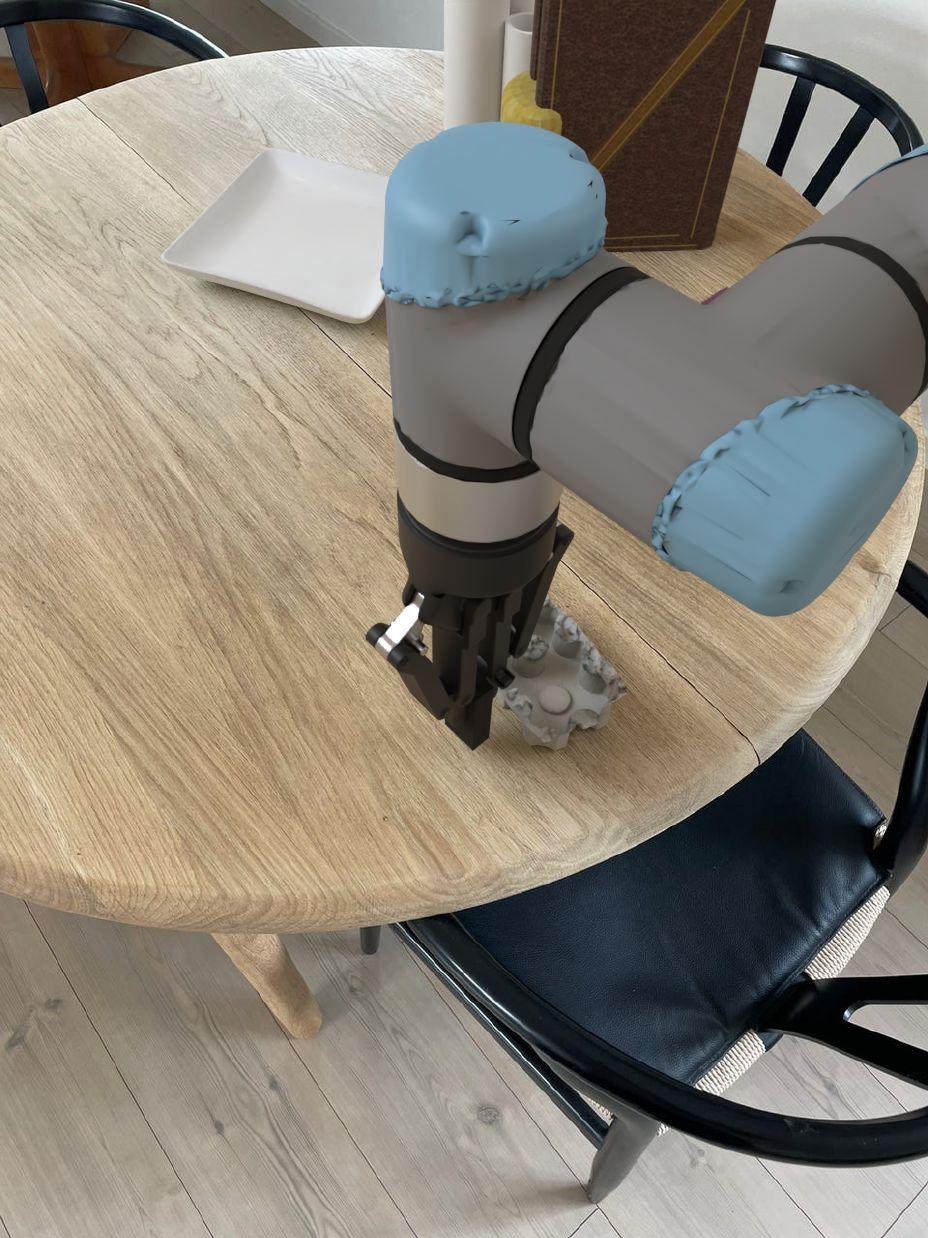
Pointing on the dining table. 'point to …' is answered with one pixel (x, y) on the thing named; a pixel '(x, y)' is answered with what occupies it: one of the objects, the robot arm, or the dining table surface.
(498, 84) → the vase
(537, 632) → the egg carton
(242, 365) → the dining table surface
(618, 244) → the book
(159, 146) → the dining table surface
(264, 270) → the plate
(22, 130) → the dining table surface
